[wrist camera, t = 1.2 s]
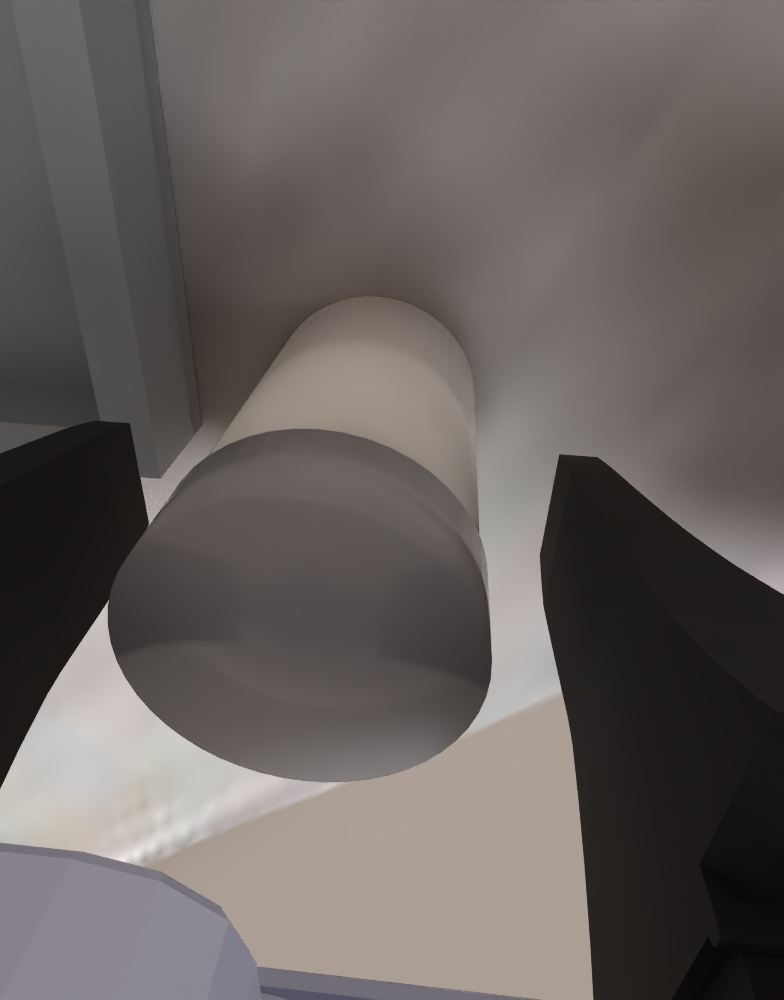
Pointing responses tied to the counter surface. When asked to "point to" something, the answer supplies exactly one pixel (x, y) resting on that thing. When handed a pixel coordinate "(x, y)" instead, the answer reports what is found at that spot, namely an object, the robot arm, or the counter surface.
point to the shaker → (323, 561)
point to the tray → (89, 232)
